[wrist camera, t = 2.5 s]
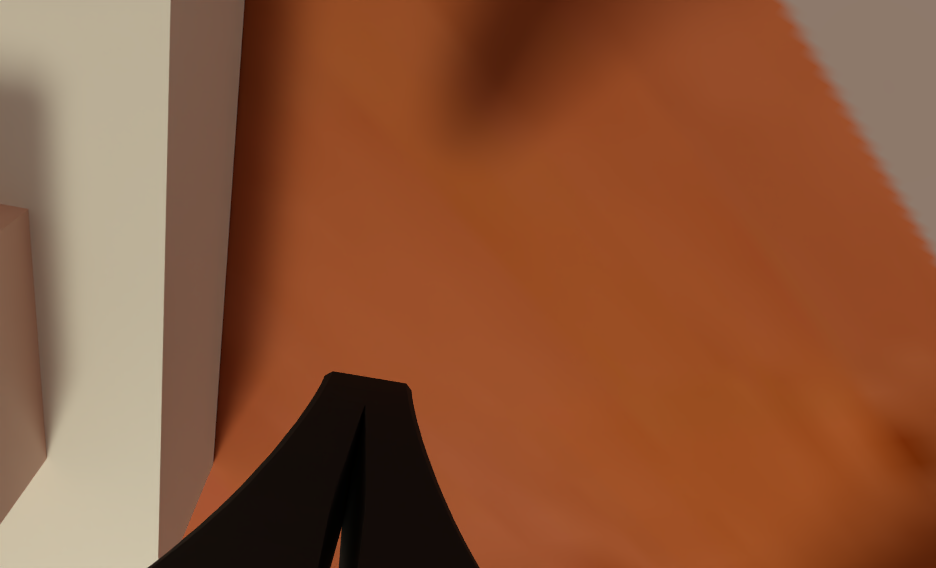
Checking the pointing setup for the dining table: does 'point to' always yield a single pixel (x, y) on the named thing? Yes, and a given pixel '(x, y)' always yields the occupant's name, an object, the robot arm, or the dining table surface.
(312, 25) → the dining table surface
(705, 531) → the dining table surface
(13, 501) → the block
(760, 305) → the dining table surface
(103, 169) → the cream square platform
